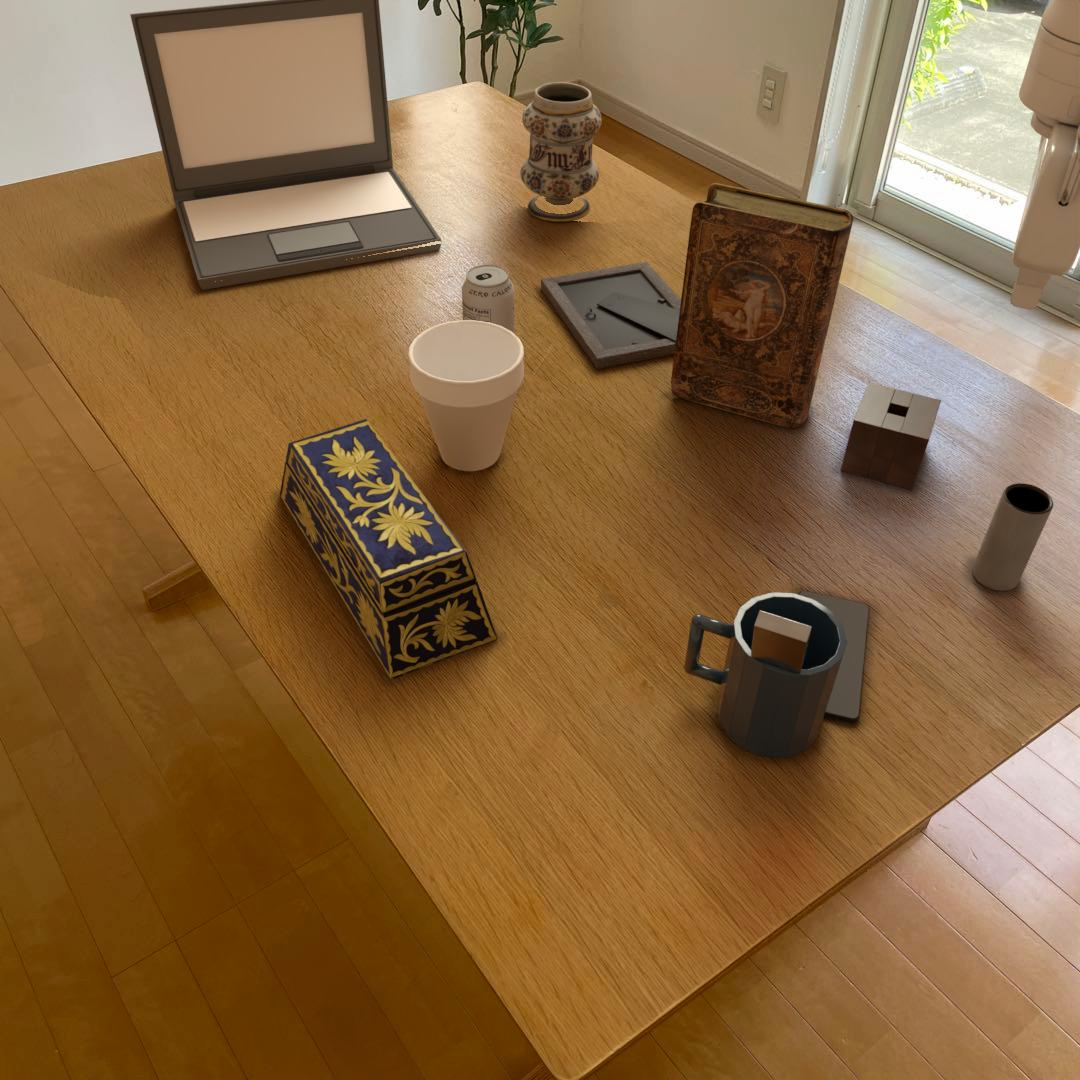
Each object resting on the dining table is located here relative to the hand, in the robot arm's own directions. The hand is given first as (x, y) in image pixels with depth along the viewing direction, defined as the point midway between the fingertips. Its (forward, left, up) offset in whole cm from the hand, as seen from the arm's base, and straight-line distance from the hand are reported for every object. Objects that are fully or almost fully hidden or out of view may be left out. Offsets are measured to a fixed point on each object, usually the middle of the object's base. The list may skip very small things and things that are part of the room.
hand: (1029, 273), depth 77 cm
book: (+25, -28, -37) cm, 52 cm away
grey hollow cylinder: (-7, -10, -37) cm, 39 cm away
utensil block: (+7, -24, -37) cm, 44 cm away
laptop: (+98, -43, -37) cm, 113 cm away
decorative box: (+50, +15, -37) cm, 64 cm away
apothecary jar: (+66, -66, -37) cm, 100 cm away
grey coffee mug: (+11, +17, -37) cm, 42 cm away
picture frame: (+45, -40, -37) cm, 70 cm away
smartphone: (+6, +8, -37) cm, 39 cm away
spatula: (+9, +17, -36) cm, 41 cm away
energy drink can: (+54, -18, -37) cm, 68 cm away
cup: (+50, -5, -37) cm, 62 cm away
